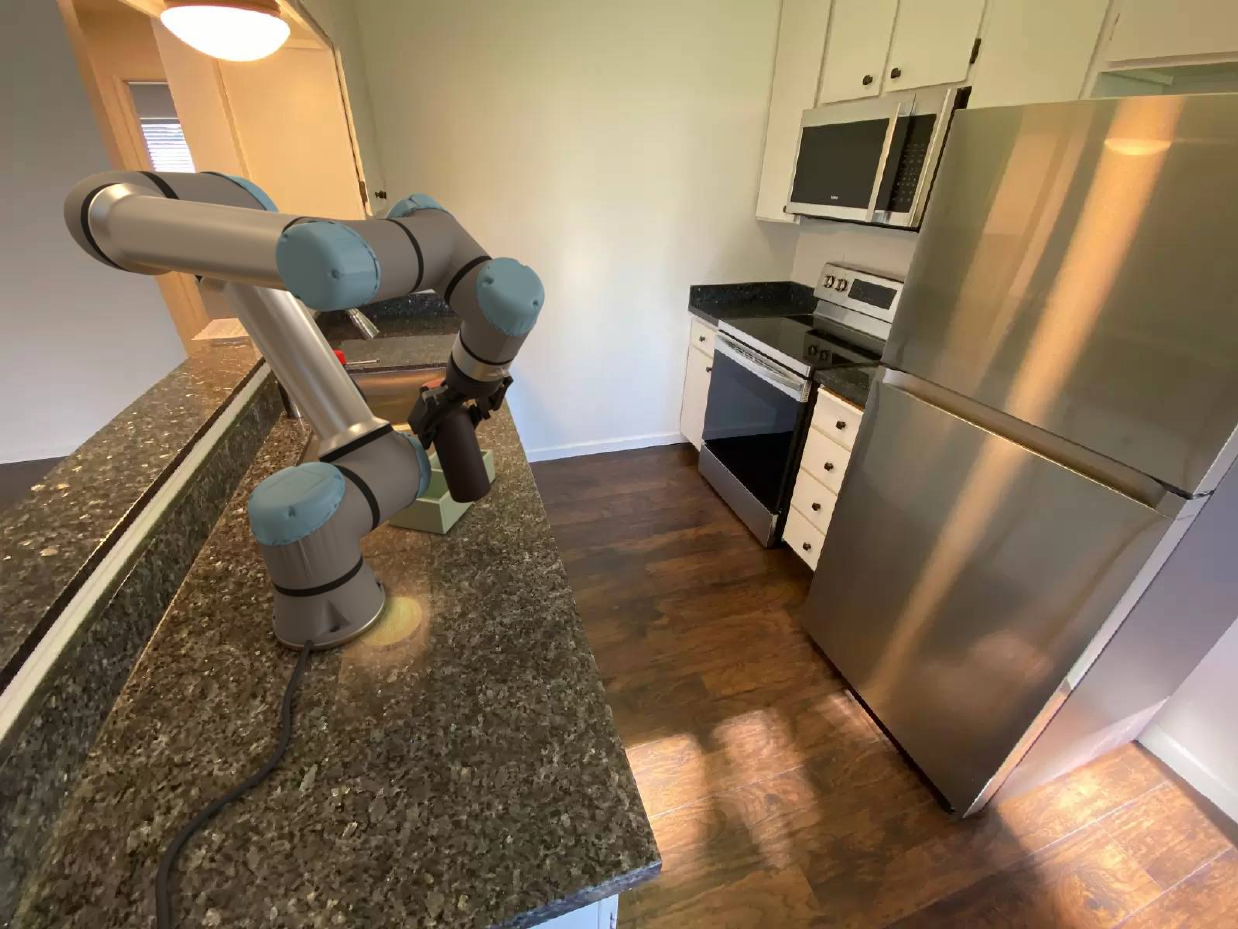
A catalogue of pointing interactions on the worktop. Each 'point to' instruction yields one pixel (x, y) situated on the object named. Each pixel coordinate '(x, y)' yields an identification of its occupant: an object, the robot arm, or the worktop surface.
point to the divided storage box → (437, 501)
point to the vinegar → (460, 454)
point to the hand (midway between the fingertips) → (445, 435)
